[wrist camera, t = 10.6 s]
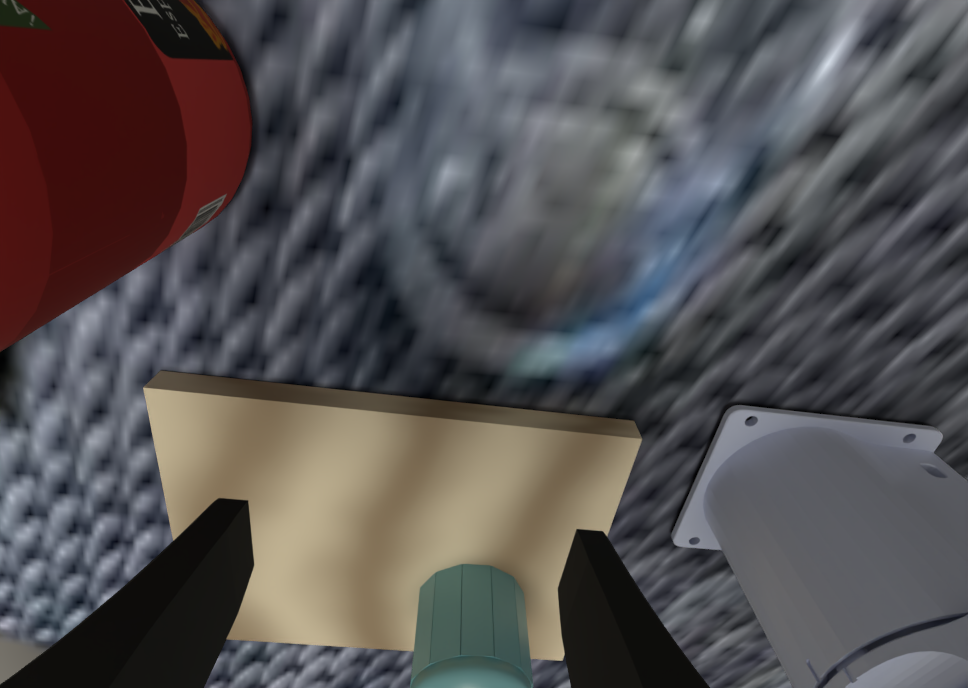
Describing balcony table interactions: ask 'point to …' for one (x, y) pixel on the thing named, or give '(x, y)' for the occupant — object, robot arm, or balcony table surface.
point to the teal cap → (471, 631)
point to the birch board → (383, 499)
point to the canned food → (108, 144)
